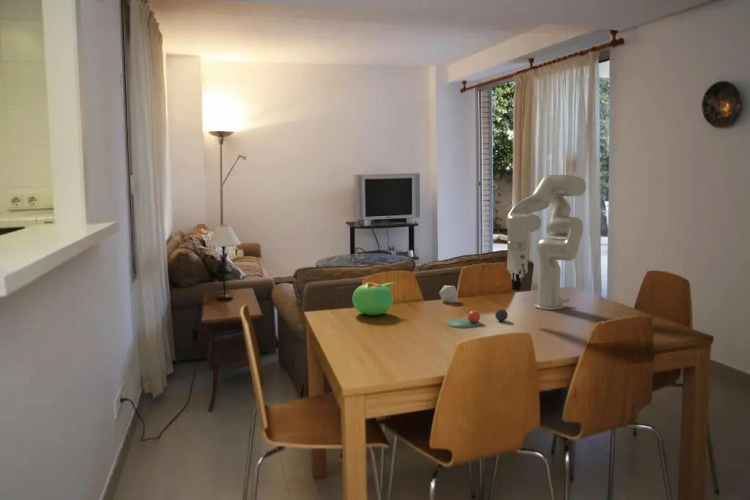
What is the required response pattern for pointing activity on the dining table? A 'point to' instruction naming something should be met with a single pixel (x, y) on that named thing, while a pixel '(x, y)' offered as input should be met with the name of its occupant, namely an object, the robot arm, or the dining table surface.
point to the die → (448, 294)
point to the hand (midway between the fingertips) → (516, 289)
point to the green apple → (373, 298)
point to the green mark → (462, 323)
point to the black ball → (501, 315)
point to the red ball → (473, 316)
